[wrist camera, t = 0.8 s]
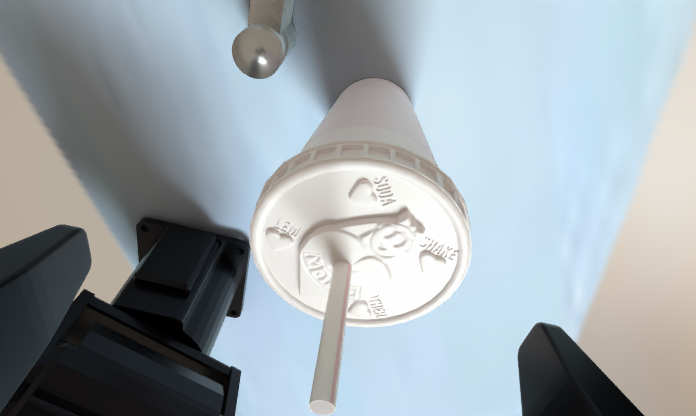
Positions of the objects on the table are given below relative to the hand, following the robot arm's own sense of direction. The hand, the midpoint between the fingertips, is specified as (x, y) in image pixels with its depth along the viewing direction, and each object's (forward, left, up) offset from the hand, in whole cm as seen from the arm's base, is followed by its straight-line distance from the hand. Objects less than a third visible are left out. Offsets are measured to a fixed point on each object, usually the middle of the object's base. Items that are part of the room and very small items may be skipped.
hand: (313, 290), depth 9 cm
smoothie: (-2, -1, -13) cm, 13 cm away
